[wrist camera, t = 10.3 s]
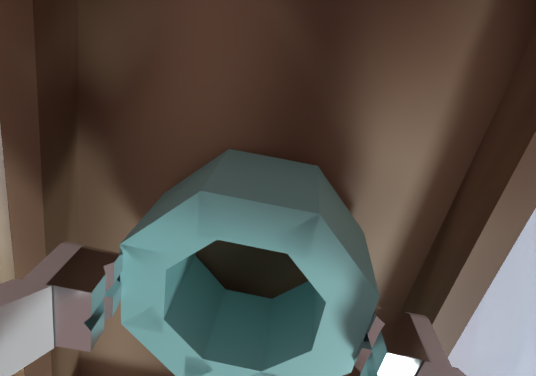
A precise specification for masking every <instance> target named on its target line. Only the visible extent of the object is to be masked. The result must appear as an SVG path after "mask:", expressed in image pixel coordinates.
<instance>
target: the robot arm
mask: <svg viewBox="0 0 536 376" xmlns="http://www.w3.org/2000/svg"><path fill="white" fill-rule="evenodd" d="M122 269H123V254H120V253H116V252H112V251H107V250H103V249H99V248H94V247H90V246H84V245H80V244H76V243H71V242H67V241H66V242H63V243H61V244H59V245H58V246H57V247H56V248H55V249H54V250H53V251H52V252H51V253H50V254H49V255H48V256H47V257H46V258H44V259H43V260H42V261H41V262H40V263H39V264H38V265H37V266H36V267H35V268H34V269H33V270H32V271H31V272H30V273H29V274H27V275H26V276H25V277H24V278H23V279H22V280H20V279H13V280H10V281H7V282H5V283H2V284H0V376H12V375H13V374H15V373H16V372H18V371H19V370H21V369H23V368H24V367H26V366H27V365H29V364H30V363H32V362H33V361H35V360H36V359H38V358H40V357H41V356H43V355H44V354H46V353H47V352H49V351H50V350H52V349H54V346H57V347H63V348H69V349H75V350H82V351H88V352H91V351H92V349H93V347H94V346H95V344H96V342H97V341H98V339H99V338H100V336H101V334H102V333H103V331H104V321H106V320H107V319H109V318H111V317H112V316H113V315H114V313H115V311H116V310H117V308H118V305H119V302H120V300H121V290H122V284H121V282H120V274H121V272H122ZM366 331H367V332H366V335H365V338H364V340H363V342H361V344H360V346H359V348H358V350H357V353H356V355H355V357H354V366H355V367H356V368H357V369H358V370H359V372H360V373H361V374H360V376H466V375H465V374H464V373H463V372H462V371H460V370H459V369H458V368H455V367H452V366H451V364H450V362H449V360H448V358H447V356H446V354H445V351H444V349H443V347H442V345H441V343H440V341H439V339H438V337H437V335H436V333H435V331H434V329H433V327H432V325H431V323H430V320H429V319H428V318H427V317H426V316H425V315H419V314H414V313H408V312H406V313H405V312H400V311H395V310H390V309H385V308H380V307H376V308H375V311H374V314H373V316H372V319H371V322H370V324H369V326H368V328H367V330H366Z"/></svg>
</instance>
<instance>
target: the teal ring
mask: <svg viewBox="0 0 536 376" xmlns="http://www.w3.org/2000/svg"><path fill="white" fill-rule="evenodd" d="M216 240H221V241H226V242H231V243H236V244H241V245H246V246H251V247H256V248H261V249H266V250H271V251H276V252H281V253H286V254H288V255H289V256H290V258H291V259H292V260H293V261H294V263H295V264H296V265H297V266H298V268H299V269H300V270H301V271H302V273H303V274H304V275H305V276H306V278H307V279H308V280H309V281H307V282H305V283H303V284H301V285H299V286H297V287H295V288H293V289H291V290H289V291H287V292H285V293H283V294H281V295H279V296H277V297H275V298H273V299H270V298H265V297H261V296H256V295H251V294H246V293H241V292H236V291H231V290H227V289H225V288H224V287H223V286H222V285H221V284H220V282H219V281H218V280H217V279H216V278H215V277H214V276H213V275H212V273H211V272H210V271H209V270H208V269H207V268H206V267H205V266H204V264H203V263H202V262H201V261H200V260H199V259H198V258H197V257H196V252H197V251H199V250H200V249H202V248H204V247H206V246H207V245H209V244H211V243H212V242H214V241H216ZM120 254H123V269H122V272H121V274H120V282H121V284H122V290H121V324H122V325H123V326H124V327H125V328H126V329H127V330H128V331H129V332H130V333H131V334H132V335H133V336H134V337H135V338H136V339H137V340H139V341H140V342H141V343H142V344H143V345H144V346H145V347H146V348H147V349H148V350H149V351H150V352H151V353H152V354H153V355H154V356H155V357H156V358H157V359H158V360H159V361H160V362H162V363H163V364H164V365H165V366H166V367H167V368H168V369H169V370H170V371H171V372H172V373H173V374H174V375H175V376H343V375H346V374H348V373H351V372H352V369H353V367H354V357H355V355H356V353H357V350H358V348H359V346H360V344H361V342H363V340H364V338H365V335H366V332H367V331H366V330H367V328H368V326H369V324H370V322H371V319H372V316H373V314H374V311H375V308H376V306H377V303H378V301H379V298H380V295H379V291H378V287H377V283H376V279H375V275H374V271H373V267H372V263H371V259H370V255H369V250H368V246H367V242H366V238H365V234H364V232H363V230H362V229H361V227H360V226H359V224H358V223H357V222H356V220H355V219H354V217H353V216H352V214H351V213H350V211H349V210H348V209H347V207H346V206H345V204H344V203H343V201H342V200H341V198H340V197H339V196H338V194H337V193H336V191H335V190H334V188H333V187H332V186H331V184H330V183H329V181H328V180H327V178H326V177H325V175H324V174H323V173H322V171H321V170H320V168H319V167H318V166H316V165H311V164H306V163H301V162H296V161H290V160H285V159H280V158H275V157H269V156H264V155H259V154H254V153H249V152H243V151H238V150H233V149H228V150H226V151H225V152H223V153H222V154H220V155H219V156H217V157H216V158H215V159H213V160H212V161H210V162H209V163H207V164H206V165H204V166H203V167H201V168H200V169H199V170H197V171H196V172H194V173H193V174H191V175H190V176H188V177H187V178H185V179H184V180H183V181H181V182H180V183H178V184H177V185H175V186H174V187H172V188H171V189H169V190H168V191H167V192H165V193H164V194H163V195H162V196H161V197H160V199H159V200H158V201H157V202H156V203H155V204H154V205H153V207H152V208H151V209H150V210H149V211H148V212H147V213H146V215H145V216H144V217H143V218H142V219H141V220H140V221H139V223H138V224H137V225H136V226H135V227H134V228H133V229H132V231H131V232H130V233H129V234H128V235H127V236H126V238H125V239H124V240H123V241H122V242H121V243H120Z"/></svg>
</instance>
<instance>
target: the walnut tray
mask: <svg viewBox="0 0 536 376" xmlns="http://www.w3.org/2000/svg"><path fill="white" fill-rule="evenodd" d="M0 125H1V135H2V145H3V156H4V166H5V177H6V187H7V197H8V208H9V218H10V228H11V239H12V249H13V259H14V270H15V279H20V280H22V279H23V278H24V277H25V276H26V275H27V274H29V273H30V272H31V271H32V270H33V269H34V268H35V267H36V266H37V265H38V264H39V263H40V262H41V261H42V260H43V259H44V258H46V257H47V256H48V255H49V254H50V253H51V252H52V251H53V250H54V249H55V248H56V247H57V246H58V245H59V244H61V243H63V242H66V241H67V242H71V243H76V244H80V245H84V246H90V247H94V248H99V249H103V250H107V251H112V252H116V253H120V243H121V242H122V241H123V240H124V239H125V238H126V236H127V235H128V234H129V233H130V232H131V231H132V229H133V228H134V227H135V226H136V225H137V224H138V223H139V221H140V220H141V219H142V218H143V217H144V216H145V215H146V213H147V212H148V211H149V210H150V209H151V208H152V207H153V205H154V204H155V203H156V202H157V201H158V200H159V199H160V197H161V196H162V195H163V194H164V193H165V192H167V191H168V190H169V189H171V188H172V187H174V186H175V185H177V184H178V183H180V182H181V181H183V180H184V179H185V178H187V177H188V176H190V175H191V174H193V173H194V172H196V171H197V170H199V169H200V168H201V167H203V166H204V165H206V164H207V163H209V162H210V161H212V160H213V159H215V158H216V157H217V156H219V155H220V154H222V153H223V152H225V151H226V150H228V149H233V150H238V151H243V152H249V153H254V154H259V155H264V156H269V157H275V158H280V159H285V160H290V161H296V162H301V163H306V164H311V165H316V166H318V167H319V168H320V170H321V171H322V173H323V174H324V175H325V177H326V178H327V180H328V181H329V183H330V184H331V186H332V187H333V188H334V190H335V191H336V193H337V194H338V196H339V197H340V198H341V200H342V201H343V203H344V204H345V206H346V207H347V209H348V210H349V211H350V213H351V214H352V216H353V217H354V219H355V220H356V222H357V223H358V224H359V226H360V227H361V229H362V230H363V232H364V234H365V238H366V242H367V246H368V250H369V255H370V259H371V263H372V267H373V271H374V275H375V279H376V283H377V287H378V291H379V295H380V298H379V301H378V303H377V306H376V307H380V308H385V309H390V310H395V311H400V312H405V313H406V312H408V313H414V314H419V315H425V316H426V317H427V318H428V319H429V320H430V323H431V325H432V327H433V329H434V331H435V333H436V335H437V337H438V339H439V341H440V343H441V345H442V347H443V349H444V351H445V354H446V356H447V358H448V356H449V354H450V353H451V351H452V349H453V348H454V346H455V344H456V342H457V341H458V339H459V337H460V336H461V334H462V332H463V331H464V329H465V327H466V325H467V324H468V322H469V320H470V319H471V317H472V315H473V313H474V312H475V310H476V308H477V307H478V305H479V303H480V302H481V300H482V298H483V296H484V295H485V293H486V291H487V290H488V288H489V286H490V285H491V283H492V281H493V279H494V278H495V276H496V274H497V273H498V271H499V269H500V268H501V266H502V264H503V262H504V261H505V259H506V257H507V256H508V254H509V252H510V250H511V249H512V247H513V245H514V244H515V242H516V240H517V239H518V237H519V235H520V233H521V232H522V230H523V228H524V227H525V225H526V223H527V222H528V220H529V218H530V216H531V215H532V213H533V211H534V210H535V208H536V0H0ZM196 257H197V258H198V259H199V260H200V261H201V262H202V263H203V264H204V266H205V267H206V268H207V269H208V270H209V271H210V272H211V273H212V275H213V276H214V277H215V278H216V279H217V280H218V281H219V282H220V284H221V285H222V286H223V287H224V288H225V289H227V290H231V291H236V292H241V293H246V294H251V295H256V296H261V297H265V298H270V299H273V298H275V297H277V296H279V295H281V294H283V293H285V292H287V291H289V290H291V289H293V288H295V287H297V286H299V285H301V284H303V283H305V282H307V281H309V280H308V279H307V278H306V276H305V275H304V274H303V273H302V271H301V270H300V269H299V268H298V266H297V265H296V264H295V263H294V261H293V260H292V259H291V258H290V256H289V255H288V254H286V253H281V252H276V251H271V250H266V249H261V248H256V247H251V246H246V245H241V244H236V243H231V242H226V241H221V240H216V241H214V242H212V243H211V244H209V245H207V246H206V247H204V248H202V249H200V250H199V251H197V252H196ZM24 374H25V376H175V375H174V374H173V373H172V372H171V371H170V370H169V369H168V368H167V367H166V366H165V365H164V364H163V363H162V362H160V361H159V360H158V359H157V358H156V357H155V356H154V355H153V354H152V353H151V352H150V351H149V350H148V349H147V348H146V347H145V346H144V345H143V344H142V343H141V342H140V341H139V340H137V339H136V338H135V337H134V336H133V335H132V334H131V333H130V332H129V331H128V330H127V329H126V328H125V327H124V326H123V325H122V324H121V300H120V302H119V305H118V308H117V310H116V311H115V313H114V315H113V316H112V317H111V318H109V319H107V320H106V321H104V331H103V333H102V334H101V336H100V338H99V339H98V341H97V342H96V344H95V346H94V347H93V349H92V351H91V352H88V351H82V350H75V349H69V348H63V347H57V346H54V349H52V350H50V351H49V352H47V353H46V354H44V355H43V356H41V357H40V358H38V359H36V360H35V361H33V362H32V363H30V364H29V365H27V366H26V367H24ZM360 374H361V373H360V372H359V370H358V369H357V368H356V367H355V366H354V367H353V369H352V372H351V373H348V374H346V375H343V376H360Z"/></svg>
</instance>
